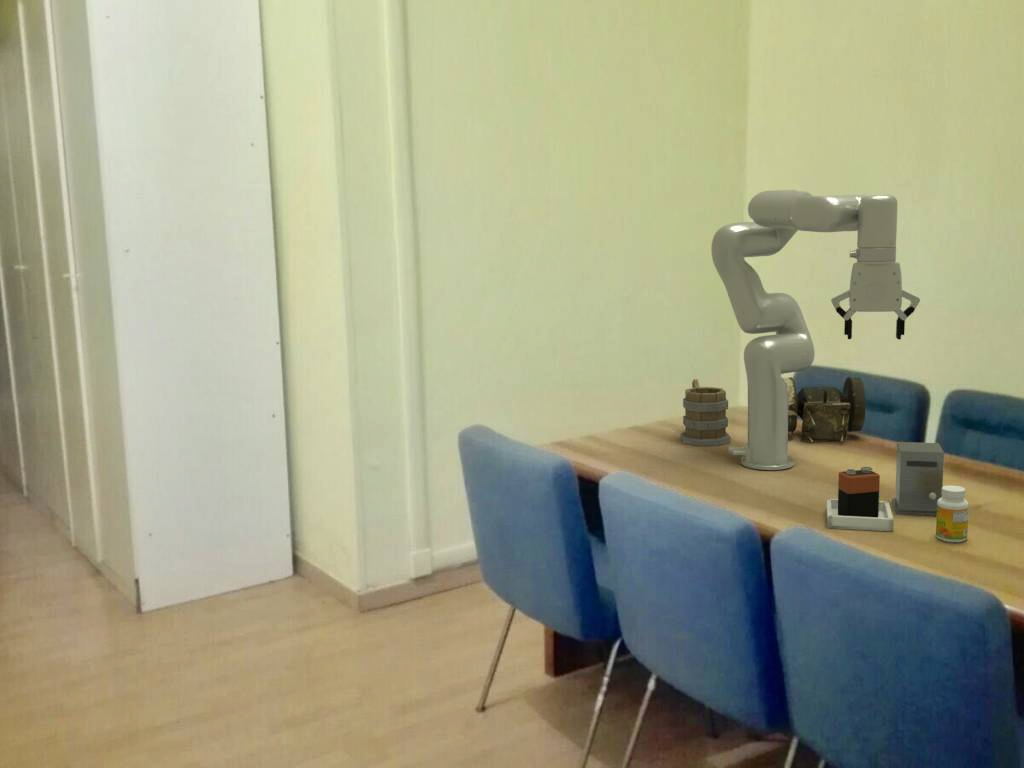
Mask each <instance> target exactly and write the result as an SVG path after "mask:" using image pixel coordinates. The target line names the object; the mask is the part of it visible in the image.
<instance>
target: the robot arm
mask: <svg viewBox="0 0 1024 768" xmlns="http://www.w3.org/2000/svg"><path fill="white" fill-rule="evenodd" d="M747 212H748V213H747V214H748V216H749V218H750V220H751V221H750V222H749V221H748V222H747V221H745V222H733V223H729V224H726V225H723V226H721V227H720V228H719V229H717V230H716V232H715V233H714V235H713V238H712V241H711V246H710V247H711V248H710V249H711V250H710V251H711V258H712V262H713V265H714V268H715V270H716V272H717V274H718V276H719V277H720V279H721V281H722V283H723V285H724V287H725V291H726V294H727V296H728V298H729V302H730V305H731V307H732V310H733V313H734V315H735V318H736V321H737V323H738V326H739V328H740V329H741V331H742V332H744V333H745V334H751V335H756V334H767V333H775V334H769V335H762V336H761V335H760V336H758V337H755V338H753V339H752V340H750V341H749V342H747V344H746V345H745V347H744V351H743V363H744V368H745V373H746V380H747V442H746V443H745V444H746V445H742V446H732V445H731V446H728V454H729V455H733V456H735V457H736V456H741V458H740V464H741V465H742V466H744V467H745V468H749V469H755V470H762V471H780V470H781V471H782V470H786V469H790V468H792V467H793V466H795V459H794V458H793V457H791V456H789V453H788V452H789V449H788V447H789V432H788V390H787V387H786V385H785V383H784V381H783V379H782V378H783V377H782V375H783V374H789V373H790V374H791V373H797V372H802V371H805V370H807V369H809V368H810V367H811V366H812V364H813V363H814V361H815V354H816V353H815V347H814V342H813V339H812V337H811V334H810V332H809V329H808V326H807V323H806V321H805V317H804V314H803V312H802V310H801V308H800V306H799V303H798V302H797V300H795V298H794V297H793V296H792V295H790V294H788V293H785V292H771V293H770V292H767V291H766V290H765V288H764V286H763V284H762V283H763V282H762V280H761V278H760V276H759V274H758V272H757V270H755V268H753V267H752V265H751V264H749V263H748V262H747V261H746V259H745V258H755V257H757V258H758V257H759V258H760V257H769V256H773V255H776V254H778V253H779V252H780V251H782V249H784V247H786V245H787V244H788V243H789V241H790V240H791V239H793V237H794V235H796V233H797V232H798V231H802V232H814V233H838V232H839V233H840V232H857V241H856V242H857V245H856V246H857V248H856V249H854V250H849V258H853V259H856V262H854V263H853V264H852V267H851V272H850V273H851V274H850V280H849V289H848V290H847V291H844V292H842V293H841V294H837V295H836V296H833V297H832V298H831V299H830V301H831V304H832V306H833V308H834V310H835V311H836V313H838V315H839V316H840V317H842V318H843V320H844V327H843V329H844V330H843V332H844V333H843V335H844V336H847V340H851V339H852V338H853V320H852V316H853V315H854V314H856V312H857V313H858V312H860V313H861V312H862V313H863V312H864V313H870V312H871V313H875V312H878V313H879V312H881V313H883V312H885V313H886V312H894V313H895V314H896V315H897V319H896V325H895V326H896V327H895V330H896V331H895V338H896V339H897V340H901V339H902V336H905V327H906V326H905V324H906V320H907V318H909V317H910V316H911V315H912V314H913V313H914V312H915V310H916V309H917V306H918V305H919V304H920V302H921V299H920V298H919V297H918V296H915V295H914V294H912V293H909V292H907V291H905V290H903V285H902V284H903V282H902V271H901V269H902V268H901V263H900V262H897V259H896V258H897V256H896V255H897V233H898V231H897V229H898V227H897V226H898V225H897V224H898V200H897V197H895V196H894V195H893V194H892V195H891V194H878V195H865V194H852V195H851V194H843V195H841V194H840V195H839V194H838V195H812V194H811V193H810V192H807V191H801V190H795V189H785V190H784V189H783V190H782V189H781V190H780V189H777V190H776V189H775V190H765V191H760V192H759V193H757V194H755V195H754V196H753V197H752V198H751V199H750V200H749V202H748V206H747ZM903 298H904V299H906V300H908V301H910V304H909V306H908V307H907V308H906V309H904V311H903V310H902V303H903ZM846 299H848V304H849V308H848V309H847V310H845V309H843V308H842V306H841V305H840V303H841V301H845V300H846Z"/></svg>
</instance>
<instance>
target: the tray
mask: <svg viewBox="0 0 1024 768" xmlns="http://www.w3.org/2000/svg"><path fill="white" fill-rule="evenodd" d="M825 507H826V511H825V512H826V523H827V529H840V530H854V531H855V530H856V531H874V532H875V531H876V532H891V531H892V532H894V523H895V522H894V521H895V520H894V516H893V512H892V510H891V506H890V502H889V501H885V500H879V514H878V518H876V517H857V516H839V515H838V498H826V506H825Z"/></svg>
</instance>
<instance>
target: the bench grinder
mask: <svg viewBox="0 0 1024 768" xmlns="http://www.w3.org/2000/svg"><path fill="white" fill-rule="evenodd" d="M782 379H783V381H784V383H785V385H786V387H787V390H788V433H791V435H793V434H794V432H796V430H797V424H798V417H799V418H800V419H801V420H802V424H801V432H800V441H803V440H809V441H808V442H811V443H814V442H817V441H818V440H820V441H821V440H822V442H823V440H841V441H840V442H841V443H843V440H844V441H846V439H847V436H848V432H849V433H850V432H860V431H862V429H863V427H864V425H865V420H866V411H867V410H866V406H867V405H866V404H867V401H866V393H865V392H866V391H865V386H864V383H863V382H864V381H863V380H862V378H861V377H859V376H857V377H856V376H854V377H853V376H847V378H845V381H844V384H843V387H842V391H841V390H840V389H838V388H837V387H836V386H831V385H830V386H829V385H827V386H806V387H805V386H804V387H802V388H801V389H800V390H799V391H798V393H797V388H796V386H797V385H796V383H795V380H794V378H793V377H792V376H791V377H782ZM810 440H811V441H810ZM813 440H815V441H813ZM816 440H817V441H816ZM820 441H818V442H820Z"/></svg>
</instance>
